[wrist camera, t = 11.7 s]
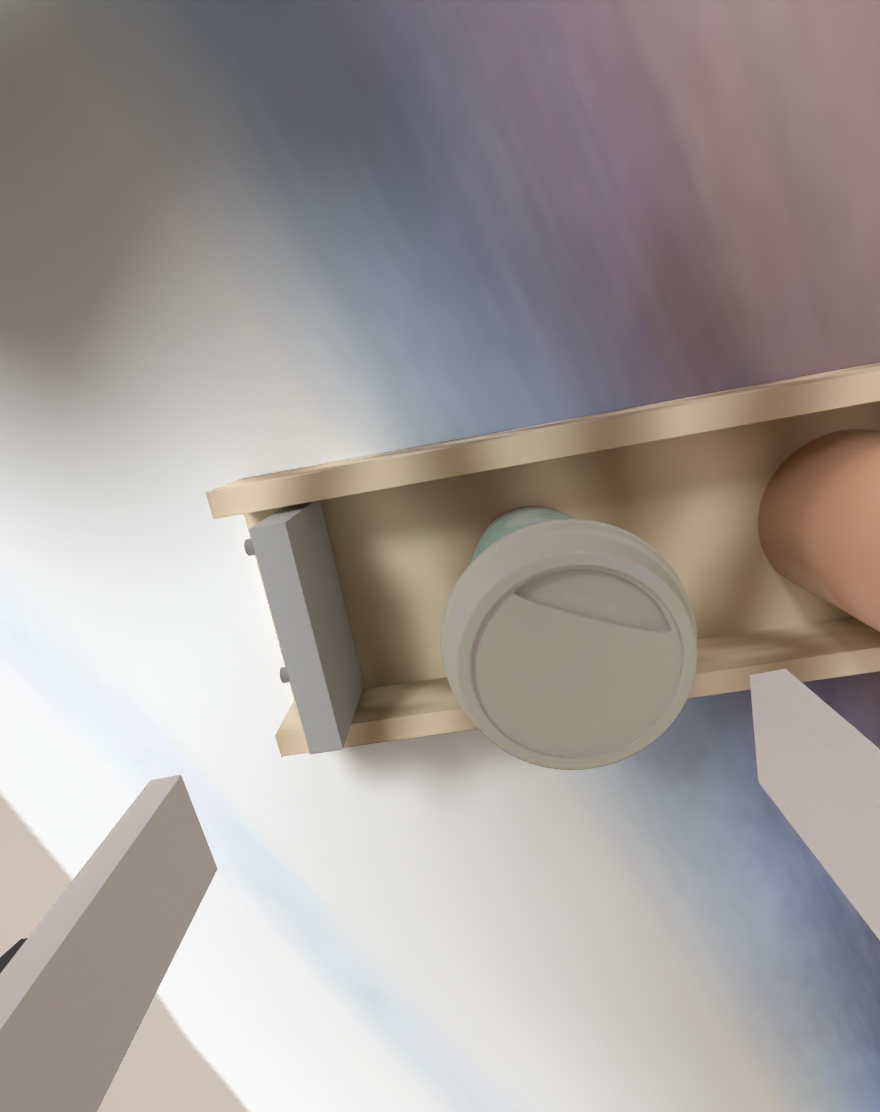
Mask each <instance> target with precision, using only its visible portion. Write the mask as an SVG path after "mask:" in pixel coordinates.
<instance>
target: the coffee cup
mask: <svg viewBox="0 0 880 1112" xmlns="http://www.w3.org/2000/svg"><path fill="white" fill-rule="evenodd" d="M440 644H441V656H442V661H443V666H444V670H445V673H446V676H447V679H448V681H449V684H450V687H451V689H452V692H453V694H454V696H455V698H456V699H457V701H458V703H459V705H460V706H461V708H462V709H463V711H464V712H465V713H466V715H467V716H468V717H469V718H470V719H471V720H472V722H473V723H474V724H475V725H476V726H477V727H479V728H480V730H481V731H482V732H483V733H484V734H485V735H486V736H487V737H488V738H489V739H490V740H491V741H492V742H493V743H495V744H496V745H497V746H498V747H500V748H501V749H503V750H504V751H506V752H507V753H509V754H511V755H513V756H515V757H517V758H519V759H521V760H524V761H526V762H529V763H531V764H535V765H539V766H542V767H547V768H553V769H563V770H580V769H590V768H596V767H601V766H605V765H609V764H612V763H615V762H618V761H621V760H623V759H626V758H628V757H630V756H632V755H634V754H635V753H637V752H639V751H641V750H642V749H644V748H645V747H647V746H648V745H650V744H651V743H652V742H654V741H655V740H656V739H657V738H658V737H660V736H661V735H662V734H663V733H664V732H665V731H666V730H667V729H668V728H669V726H670V725H671V724H672V723H673V722H674V720H675V719H676V718H677V716H678V715H679V713H680V712H681V711H682V709H683V707H684V705H685V703H686V701H687V699H688V697H689V695H690V692H691V689H692V686H693V683H694V679H695V675H696V668H697V628H696V620H695V615H694V611H693V608H692V605H691V602H690V600H689V597H688V595H687V593H686V591H685V589H684V587H683V585H682V583H681V581H680V579H679V577H678V575H677V574H676V572H675V571H674V569H673V568H672V567H671V565H670V564H669V563H668V562H667V560H666V559H665V558H664V557H663V556H662V555H661V554H660V553H659V552H658V551H657V550H656V549H654V548H653V547H652V546H651V545H649V544H648V543H647V542H645V541H644V540H642V539H641V538H639V537H637V536H636V535H634V534H632V533H630V532H628V531H626V530H623V529H621V528H618V527H616V526H612V525H609V524H606V523H601V522H597V521H590V520H580V519H576V518H574V517H571V516H569V515H567V514H564V513H562V512H559V511H557V510H554V509H551V508H548V507H542V506H525V507H520V508H516V509H513V510H511V511H508V512H506V513H504V514H503V515H501V516H499V517H498V518H497V519H495V520H494V521H493V522H492V523H491V524H490V525H489V526H488V527H487V528H486V530H485V531H484V533H483V534H482V536H481V538H480V540H479V542H478V544H477V547H476V549H475V552H474V555H473V557H472V560H471V563H470V565H469V566H468V567H467V569H466V570H465V571H464V573H463V574H462V575H461V577H460V578H459V580H458V581H457V583H456V585H455V587H454V588H453V590H452V592H451V595H450V597H449V599H448V602H447V605H446V608H445V611H444V615H443V619H442V625H441V636H440Z"/></svg>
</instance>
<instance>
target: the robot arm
mask: <svg viewBox="0 0 880 1112" xmlns="http://www.w3.org/2000/svg"><path fill="white" fill-rule="evenodd" d="M750 688H751V700H752V712H753V724H754V736H755V748H756V760H757V772H758V782H759V783H760V785H761V786H762V787H763V789H764V790H765V791H766V793H767V794H768V795H769V796H770V798H771V799H772V800H773V802H774V803H775V804H776V806H777V807H778V808H779V810H780V811H781V812H782V813H783V815H784V816H785V817H786V819H787V820H788V821H789V823H790V824H791V825H792V826H793V828H794V829H795V830H796V832H797V833H798V834H799V836H800V837H801V838H802V840H803V841H804V842H805V843H806V845H807V846H808V847H809V849H810V850H811V851H812V853H813V854H814V855H815V857H816V858H817V859H818V860H819V862H820V863H821V864H822V866H823V867H824V868H825V870H826V871H827V872H828V873H829V875H830V876H831V877H832V879H833V880H834V881H835V883H836V884H837V885H838V887H839V888H840V889H841V890H842V892H843V893H844V894H845V896H846V897H847V898H848V900H849V901H850V902H851V904H852V905H853V906H854V907H855V909H856V910H857V911H858V913H859V914H860V915H861V917H862V918H863V919H864V920H865V922H866V923H867V924H868V926H869V927H870V928H871V930H872V931H873V932H874V934H875V935H876V936H877V937H878V939H879V940H880V749H879V748H878V747H877V746H876V745H874V744H873V743H872V742H871V741H870V740H869V739H867V738H866V737H865V736H864V735H863V734H861V733H860V732H859V731H858V730H857V729H856V728H854V727H853V726H852V725H851V724H850V723H849V722H847V721H846V720H845V719H844V718H843V717H842V716H840V715H839V714H838V713H837V712H836V711H835V710H833V709H832V708H831V707H830V706H829V705H828V704H826V703H825V702H824V701H823V700H822V699H821V698H819V697H818V696H817V695H816V694H815V693H813V692H812V691H811V690H810V689H809V688H808V687H806V686H805V685H804V684H803V683H802V682H801V681H799V680H798V679H797V678H796V677H795V676H794V675H792V674H791V673H790V672H789V671H788V670H787V669H781V670H775V671H770V672H764V673H758V674H753V675H750ZM216 870H217V867H216V864H215V862H214V859H213V856H212V854H211V851H210V849H209V846H208V844H207V841H206V838H205V836H204V833H203V831H202V828H201V825H200V823H199V820H198V818H197V815H196V813H195V810H194V807H193V805H192V802H191V800H190V797H189V794H188V792H187V789H186V787H185V784H184V782H183V779H182V776H181V775H178V776H172V777H167V778H161V779H155V780H150V782H149V783H148V784H147V786H146V787H145V788H144V789H143V791H142V792H141V793H140V795H139V796H138V797H137V798H136V800H135V801H134V802H133V804H132V805H131V806H130V807H129V809H128V810H127V811H126V813H125V814H124V815H123V816H122V818H121V819H120V820H119V822H118V823H117V824H116V825H115V827H114V828H113V829H112V831H111V832H110V833H109V834H108V836H107V837H106V838H105V840H104V841H103V842H102V843H101V845H100V846H99V847H98V849H97V850H96V851H95V852H94V854H93V855H92V856H91V858H90V859H89V860H88V861H87V863H86V864H85V865H84V867H83V868H82V869H81V870H80V872H79V873H78V874H77V876H76V877H75V878H74V879H73V881H72V882H71V883H70V885H69V886H68V887H67V889H66V890H65V891H64V893H63V894H62V895H61V896H60V897H59V899H58V900H57V901H56V903H55V904H54V905H53V906H52V908H51V909H50V911H49V912H48V913H47V914H46V916H45V917H44V918H43V919H42V921H41V922H40V923H39V925H38V926H37V927H36V928H35V930H34V931H33V932H32V933H31V935H30V936H29V937H28V938H26V939H21V940H20V941H18V942H17V943H16V944H15V945H14V946H13V947H12V948H11V949H10V950H9V951H7V952H6V953H5V954H4V955H3V956H2V957H0V1112H97V1110H98V1108H99V1106H100V1104H101V1102H102V1100H103V1098H104V1096H105V1094H106V1092H107V1090H108V1088H109V1086H110V1084H111V1082H112V1080H113V1078H114V1076H115V1074H116V1072H117V1070H118V1068H119V1066H120V1064H121V1062H122V1060H123V1058H124V1056H125V1054H126V1052H127V1050H128V1048H129V1046H130V1044H131V1042H132V1040H133V1038H134V1036H135V1034H136V1031H137V1030H138V1028H139V1026H140V1024H141V1022H142V1020H143V1018H144V1016H145V1014H146V1011H147V1009H148V1008H149V1006H150V1003H151V1001H152V999H153V997H154V995H155V993H156V991H157V989H158V987H159V985H160V983H161V981H162V979H163V977H164V975H165V973H166V971H167V969H168V967H169V965H170V963H171V961H172V959H173V957H174V955H175V953H176V951H177V949H178V947H179V945H180V943H181V941H182V939H183V937H184V935H185V933H186V931H187V929H188V927H189V925H190V923H191V921H192V919H193V917H194V915H195V913H196V911H197V909H198V907H199V905H200V903H201V901H202V899H203V897H204V895H205V893H206V891H207V889H208V887H209V885H210V883H211V881H212V878H213V876H214V874H215V872H216Z"/></svg>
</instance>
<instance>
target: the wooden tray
mask: <svg viewBox="0 0 880 1112" xmlns="http://www.w3.org/2000/svg"><path fill="white" fill-rule="evenodd" d="M849 429H868V430H880V362H879V363H874V364H868V365H863V366H857V367H852V368H846V369H841V370H835V371H830V372H824V373H819V374H813V375H808V376H802V377H797V378H791V379H786V380H780V381H775V382H769V383H764V384H758V385H753V386H747V387H742V388H737V389H731V390H726V391H720V392H715V393H709V394H704V395H698V396H693V397H687V398H682V399H676V400H671V401H665V402H660V403H654V404H649V405H643V406H638V407H632V408H627V409H621V410H616V411H611V412H605V413H600V414H594V415H589V416H583V417H578V418H572V419H567V420H561V421H556V422H550V423H545V424H539V425H534V426H528V427H523V428H517V429H512V430H506V431H501V432H495V433H490V434H485V435H479V436H474V437H468V438H463V439H457V440H452V441H446V442H441V443H435V444H430V445H424V446H419V447H413V448H408V449H402V450H397V451H391V452H386V453H380V454H375V455H369V456H364V457H359V458H353V459H348V460H342V461H337V462H331V463H326V464H320V465H315V466H309V467H304V468H298V469H293V470H287V471H282V472H276V473H271V474H265V475H260V476H254V477H249V478H243V479H240V480H238V481H235V482H232V483H230V484H227V485H225V486H222V487H219V488H217V489H214V490H212V491H209V492H206V495H207V498H208V502H209V505H210V509H211V512H212V516H213V519H217V518H222V517H228V516H234V515H239V514H244V515H245V519H246V523H247V526H248V530H249V529H250V528H251V527H253V526H254V525H256V524H258V523H259V522H261V521H262V520H264V519H265V518H267V517H269V516H270V515H272V514H273V513H275V512H276V511H278V510H280V509H281V508H283V507H284V506H290V505H296V504H301V503H307V502H313V501H318V500H320V501H321V505H322V509H323V513H324V518H325V522H326V526H327V530H328V535H329V539H330V543H331V547H332V551H333V556H334V560H335V564H336V568H337V573H338V577H339V581H340V585H341V590H342V594H343V598H344V602H345V606H346V611H347V615H348V619H349V623H350V628H351V632H352V636H353V640H354V645H355V649H356V653H357V657H358V661H359V666H360V670H361V674H362V678H363V683H364V687H363V690H362V693H361V696H360V699H359V702H358V705H357V708H356V711H355V714H354V717H353V720H352V723H351V726H350V729H349V732H348V735H347V738H346V741H345V744H344V747H343V748H345V747H352V746H359V745H366V744H373V743H380V742H387V741H394V740H401V739H408V738H415V737H422V736H429V735H436V734H443V733H450V732H457V731H464V730H471V729H478V728H479V727H477V726H476V725H475V724H474V723H473V722H472V720H471V719H470V718H469V717H468V716H467V715H466V713H465V712H464V711H463V709H462V708H461V706H460V705H459V703H458V701H457V699H456V698H455V696H454V694H453V692H452V689H451V687H450V684H449V681H448V679H447V676H446V673H445V670H444V666H443V661H442V656H441V644H440V636H441V625H442V619H443V615H444V611H445V608H446V605H447V602H448V599H449V597H450V595H451V592H452V590H453V588H454V587H455V585H456V583H457V581H458V580H459V578H460V577H461V575H462V574H463V573H464V571H465V570H466V569H467V567H468V566H469V565H470V563H471V560H472V557H473V555H474V552H475V549H476V547H477V544H478V542H479V540H480V538H481V536H482V534H483V533H484V531H485V530H486V528H487V527H488V526H489V525H490V524H491V523H492V522H493V521H494V520H495V519H497V518H498V517H499V516H501V515H503V514H504V513H506V512H508V511H511V510H513V509H516V508H520V507H525V506H542V507H548V508H551V509H554V510H557V511H559V512H562V513H564V514H567V515H569V516H571V517H574V518H576V519H580V520H590V521H597V522H601V523H606V524H609V525H612V526H616V527H618V528H621V529H623V530H626V531H628V532H630V533H632V534H634V535H636V536H637V537H639V538H641V539H642V540H644V541H645V542H647V543H648V544H649V545H651V546H652V547H653V548H654V549H656V550H657V551H658V552H659V553H660V554H661V555H662V556H663V557H664V558H665V559H666V560H667V562H668V563H669V564H670V565H671V567H672V568H673V569H674V571H675V572H676V574H677V575H678V577H679V579H680V581H681V583H682V585H683V587H684V589H685V591H686V593H687V595H688V597H689V600H690V602H691V605H692V608H693V611H694V615H695V620H696V628H697V668H696V675H695V679H694V683H693V686H692V689H691V692H690V695H689V697H688V698H695V697H702V696H709V695H716V694H723V693H730V692H737V691H744V690H751V688H750V675H753V674H758V673H764V672H770V671H775V670H781V669H787V670H788V671H789V672H790V673H791V674H792V675H794V676H795V677H796V678H797V679H798V680H799V681H801V682H807V681H814V680H821V679H828V678H835V677H842V676H849V675H856V674H863V673H870V672H877V671H880V632H879V631H877V630H876V629H874V628H872V627H870V626H869V625H867V624H865V623H863V622H862V621H860V620H858V619H856V618H855V617H853V616H851V615H849V614H848V613H846V612H844V611H842V610H840V609H839V608H837V607H835V606H833V605H832V604H830V603H828V602H826V601H825V600H823V599H821V598H819V597H818V596H816V595H814V594H812V593H810V592H809V591H807V590H805V589H803V588H802V587H800V586H798V585H796V584H795V583H793V582H791V581H790V580H788V579H786V578H785V577H784V576H782V575H781V574H780V573H779V572H778V571H777V570H776V569H775V568H774V567H773V566H772V565H771V563H770V562H769V560H768V559H767V557H766V555H765V553H764V551H763V549H762V546H761V542H760V539H759V532H758V514H759V508H760V503H761V500H762V497H763V494H764V492H765V489H766V487H767V485H768V483H769V481H770V480H771V478H772V476H773V475H774V473H775V472H776V471H777V469H778V468H779V467H780V466H781V465H782V463H783V462H784V461H785V460H786V459H787V458H788V457H789V456H791V455H792V454H793V453H794V452H795V451H796V450H798V449H799V448H801V447H802V446H804V445H805V444H807V443H808V442H810V441H812V440H814V439H816V438H818V437H821V436H823V435H826V434H829V433H832V432H836V431H841V430H849ZM249 534H250V531H249ZM250 538H251V535H250ZM251 539H252V538H251ZM255 556H256V554H255ZM256 560H257V557H256ZM257 563H258V561H257ZM258 567H259V564H258ZM259 571H260V568H259ZM260 574H261V572H260ZM261 578H262V575H261ZM262 582H263V579H262ZM263 585H264V583H263ZM264 589H265V586H264ZM265 593H266V590H265ZM266 596H267V594H266ZM267 600H268V597H267ZM268 604H269V601H268ZM269 608H270V605H269ZM270 611H271V609H270ZM271 615H272V612H271ZM272 619H273V616H272ZM273 622H274V620H273ZM274 626H275V623H274ZM275 630H276V627H275ZM276 633H277V631H276ZM277 637H278V634H277ZM278 641H279V638H278ZM279 644H280V642H279ZM280 648H281V645H280ZM281 652H282V649H281ZM282 655H283V653H282ZM283 659H284V656H283ZM284 663H285V660H284ZM285 666H286V664H285ZM290 685H291V682H290ZM291 689H292V686H291ZM292 692H293V690H292ZM293 696H294V693H293ZM275 736H276V740H277V743H278V747H279V750H280V754H281V757H282V756H289V755H296V754H303V753H310V752H309V749H308V745H307V741H306V738H305V734H304V730H303V727H302V723H301V719H300V715H299V712H298V708H297V704H296V701H295V697H294V702H293V704H292V706H291V708H290V709H289V711H288V713H287V715H286V717H285V719H284V720H283V722H282V724H281V726H280V728H279V730H278V731H277V733H276V735H275Z"/></svg>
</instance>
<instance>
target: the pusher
mask: <svg viewBox="0 0 880 1112" xmlns="http://www.w3.org/2000/svg"><path fill="white" fill-rule="evenodd" d="M249 531H250V535H251V538H252V539H247V540H245V543H244V546H245V551H246V553H247V554H248V555H255V554H256V557H257V561H258V564H259V568H260V572H261V575H262V579H263V583H264V586H265V590H266V594H267V597H268V601H269V605H270V609H271V612H272V616H273V620H274V623H275V627H276V631H277V634H278V638H279V642H280V645H281V649H282V653H283V656H284V660H285V664H286V667H282V668H281V670H280V678H281V681H282V682H283V683H286V682H291V686H292V690H293V693H294V697H295V701H296V704H297V708H298V712H299V715H300V719H301V723H302V727H303V730H304V734H305V738H306V741H307V745H308V749H309V752H310V754H315V753H322V752H329V751H336V750H343V747H344V744H345V741H346V738H347V735H348V732H349V729H350V726H351V723H352V720H353V717H354V714H355V711H356V708H357V705H358V702H359V699H360V696H361V693H362V690H363V687H364V683H363V678H362V674H361V670H360V666H359V661H358V657H357V653H356V649H355V645H354V640H353V636H352V632H351V628H350V623H349V619H348V615H347V611H346V606H345V602H344V598H343V594H342V590H341V585H340V581H339V577H338V573H337V568H336V564H335V560H334V556H333V551H332V547H331V543H330V539H329V535H328V530H327V526H326V522H325V518H324V513H323V509H322V505H321V501H320V500H318V501H313V502H307V503H301V504H296V505H290V506H284V507H283V508H281V509H280V510H278V511H276V512H275V513H273V514H272V515H270V516H269V517H267V518H265V519H264V520H262V521H261V522H259V523H258V524H256V525H254V526H253V527H251V528H250V529H249Z"/></svg>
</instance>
